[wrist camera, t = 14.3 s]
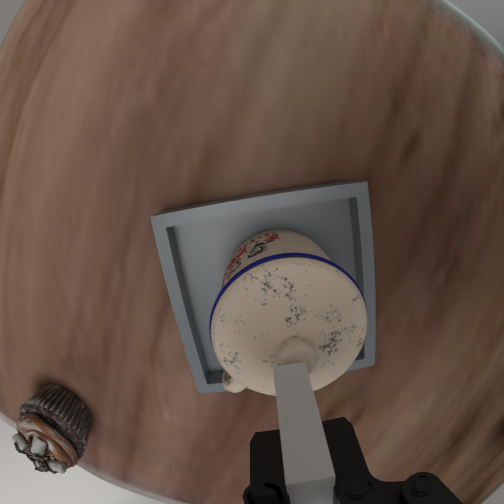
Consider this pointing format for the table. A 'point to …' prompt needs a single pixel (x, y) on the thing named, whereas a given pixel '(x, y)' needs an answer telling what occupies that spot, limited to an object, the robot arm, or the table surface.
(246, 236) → the square tray
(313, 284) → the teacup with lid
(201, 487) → the table surface
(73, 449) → the cupcake
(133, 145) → the table surface
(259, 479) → the robot arm
